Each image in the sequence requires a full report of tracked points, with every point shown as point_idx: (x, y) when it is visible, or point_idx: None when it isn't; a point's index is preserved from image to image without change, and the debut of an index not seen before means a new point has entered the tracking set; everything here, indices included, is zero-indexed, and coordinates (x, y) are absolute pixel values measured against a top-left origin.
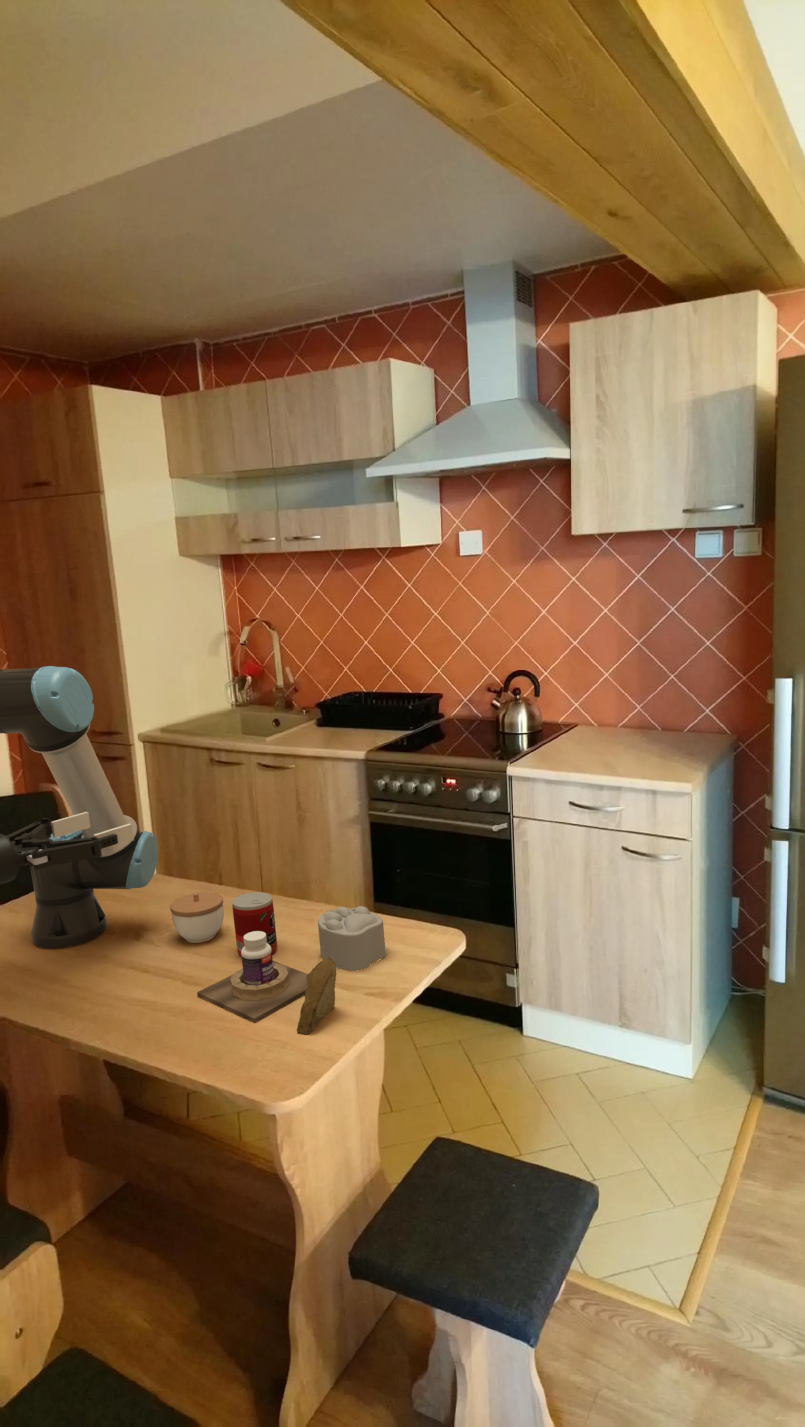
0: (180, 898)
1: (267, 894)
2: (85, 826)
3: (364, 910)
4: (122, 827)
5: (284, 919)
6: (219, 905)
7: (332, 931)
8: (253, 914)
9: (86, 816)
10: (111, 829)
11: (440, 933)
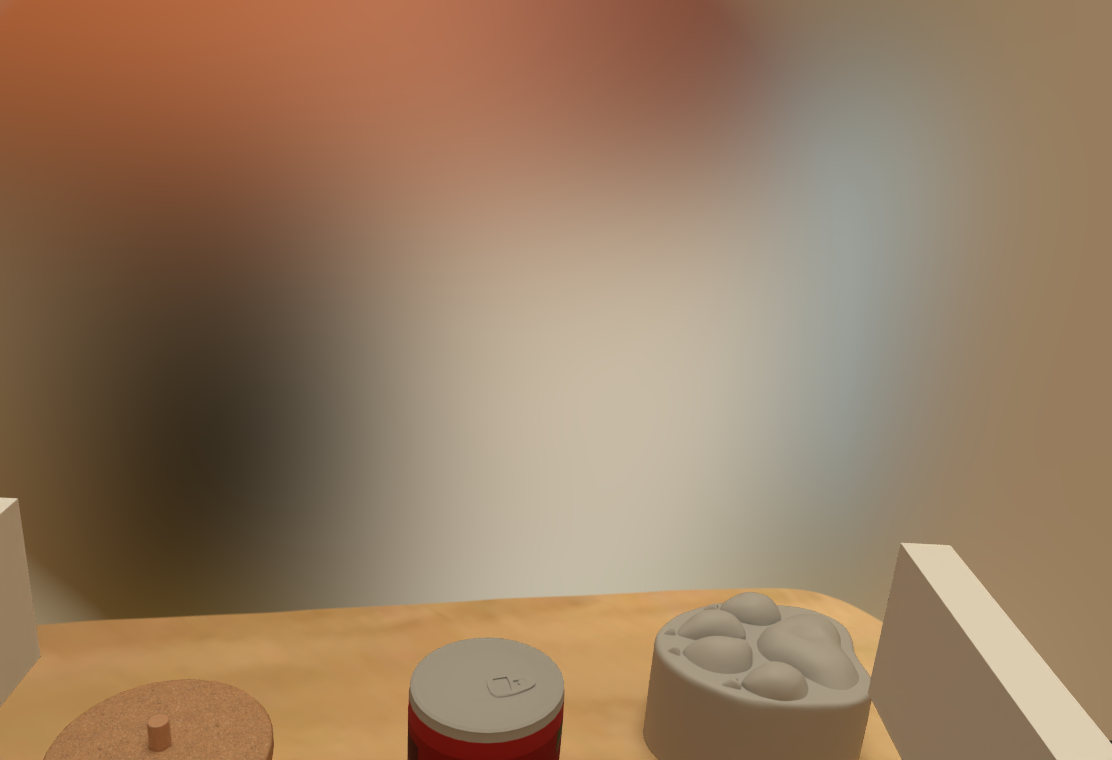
0: (64, 756)
1: (501, 641)
2: (4, 671)
3: (773, 604)
4: (1005, 616)
5: (382, 681)
6: (272, 731)
7: (800, 704)
8: (546, 740)
9: (5, 552)
10: (1031, 693)
11: (806, 600)
